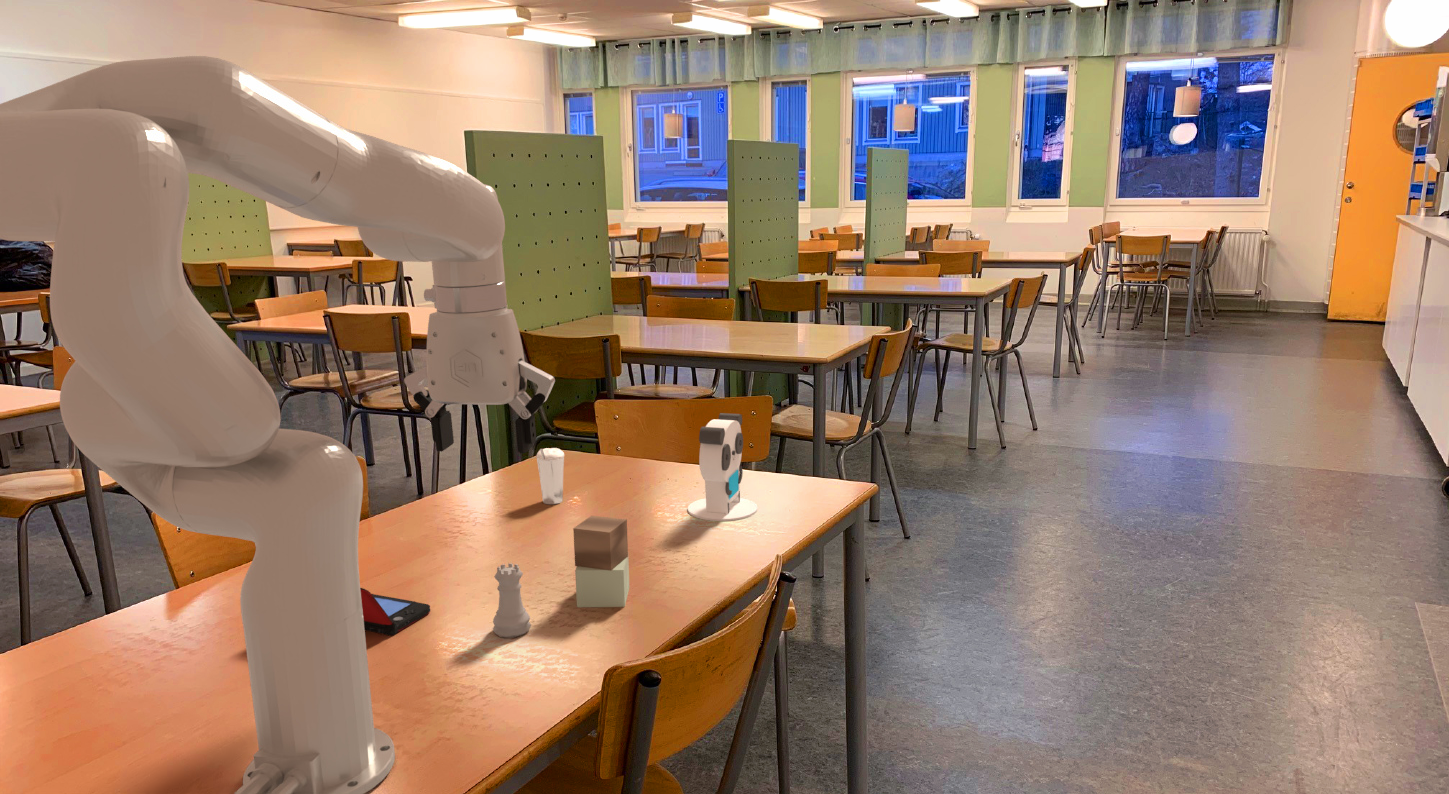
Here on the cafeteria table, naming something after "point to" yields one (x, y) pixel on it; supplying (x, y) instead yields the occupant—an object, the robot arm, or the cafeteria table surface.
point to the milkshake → (551, 474)
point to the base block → (602, 586)
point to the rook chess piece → (510, 604)
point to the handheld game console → (390, 613)
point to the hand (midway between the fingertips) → (485, 448)
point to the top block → (600, 542)
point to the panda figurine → (722, 471)
